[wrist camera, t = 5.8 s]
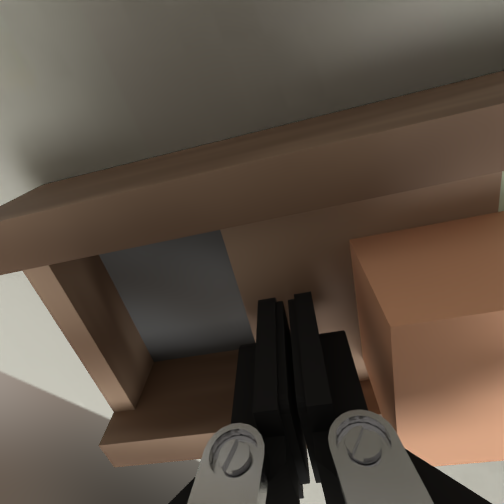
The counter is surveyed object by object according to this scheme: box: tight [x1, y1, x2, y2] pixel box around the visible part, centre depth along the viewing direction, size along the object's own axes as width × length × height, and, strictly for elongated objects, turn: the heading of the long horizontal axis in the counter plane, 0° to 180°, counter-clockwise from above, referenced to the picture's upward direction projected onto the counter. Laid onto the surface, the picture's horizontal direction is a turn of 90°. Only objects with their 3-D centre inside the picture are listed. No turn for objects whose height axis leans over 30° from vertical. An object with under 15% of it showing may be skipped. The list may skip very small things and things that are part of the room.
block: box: [349, 211, 504, 466], centre depth 9 cm, size 5×5×4 cm
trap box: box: [0, 71, 504, 467], centre depth 11 cm, size 11×29×4 cm, turn 104°
